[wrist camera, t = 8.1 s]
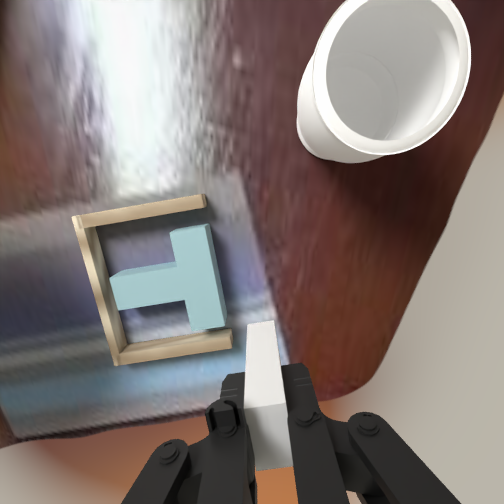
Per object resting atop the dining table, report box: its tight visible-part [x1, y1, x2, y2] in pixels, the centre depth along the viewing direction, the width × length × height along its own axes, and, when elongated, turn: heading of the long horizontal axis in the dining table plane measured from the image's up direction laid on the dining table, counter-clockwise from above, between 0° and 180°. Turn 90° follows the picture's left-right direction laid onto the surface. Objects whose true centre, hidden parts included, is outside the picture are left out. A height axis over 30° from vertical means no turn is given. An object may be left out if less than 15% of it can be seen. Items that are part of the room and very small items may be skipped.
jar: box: [297, 0, 471, 163], centre depth 27 cm, size 11×10×15 cm
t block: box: [109, 223, 227, 331], centre depth 36 cm, size 12×12×4 cm
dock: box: [72, 194, 233, 366], centre depth 37 cm, size 19×15×2 cm
